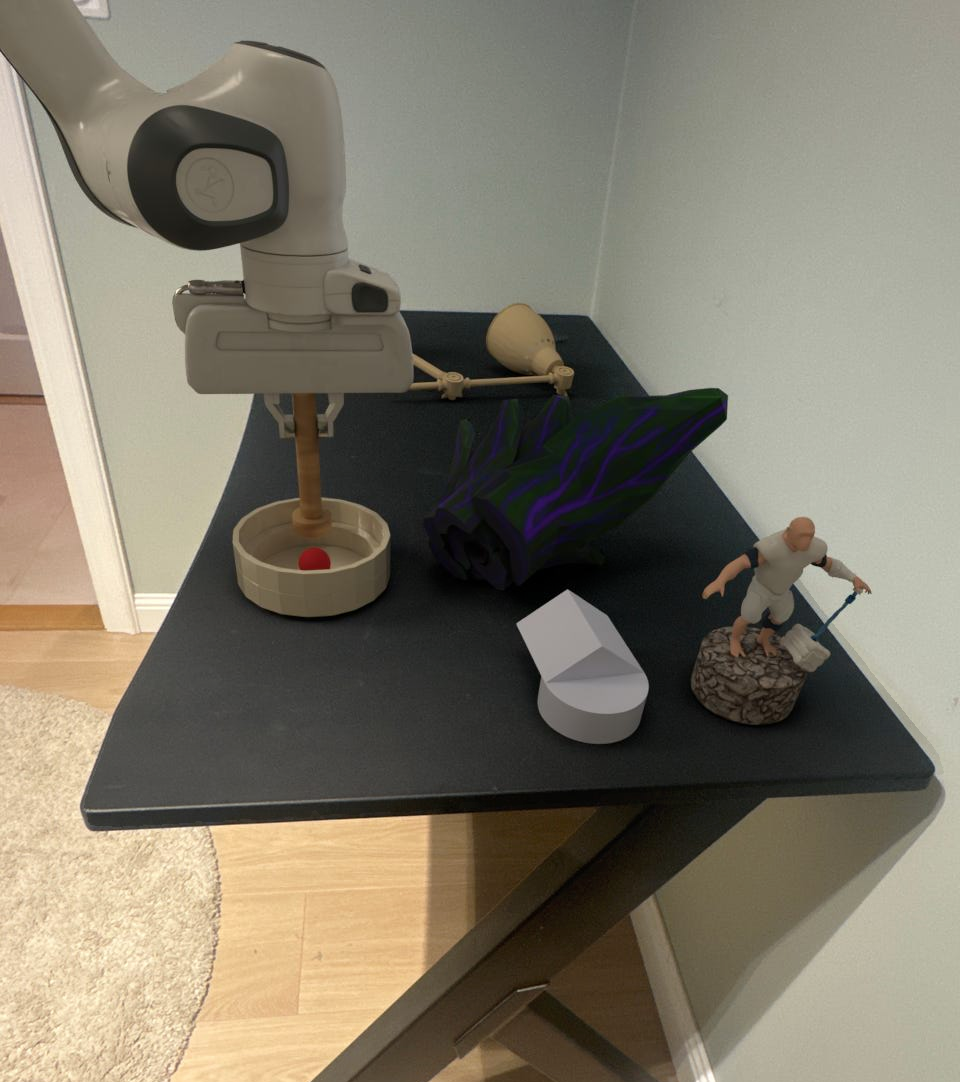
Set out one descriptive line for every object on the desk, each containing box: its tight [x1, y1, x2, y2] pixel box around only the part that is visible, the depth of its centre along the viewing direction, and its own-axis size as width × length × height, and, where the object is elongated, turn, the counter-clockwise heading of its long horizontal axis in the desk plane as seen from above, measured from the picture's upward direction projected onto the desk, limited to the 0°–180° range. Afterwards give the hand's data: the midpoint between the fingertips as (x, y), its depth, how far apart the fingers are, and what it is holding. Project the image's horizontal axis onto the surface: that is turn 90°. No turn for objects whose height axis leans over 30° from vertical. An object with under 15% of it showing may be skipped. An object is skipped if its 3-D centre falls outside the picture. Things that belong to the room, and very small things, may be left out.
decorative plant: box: [422, 387, 729, 591], centre depth 83 cm, size 21×26×30 cm
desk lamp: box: [405, 302, 575, 401], centre depth 131 cm, size 15×35×40 cm
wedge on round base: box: [516, 589, 650, 745], centre depth 67 cm, size 9×7×13 cm
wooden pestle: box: [291, 393, 332, 537], centre depth 76 cm, size 4×4×16 cm
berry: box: [298, 548, 331, 571], centre depth 79 cm, size 3×3×3 cm
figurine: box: [690, 516, 873, 726], centre depth 65 cm, size 15×9×18 cm, turn 99°
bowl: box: [232, 497, 392, 618], centre depth 79 cm, size 15×15×6 cm
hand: (306, 435), depth 75 cm, fingers closed on wooden pestle, 2 cm apart
